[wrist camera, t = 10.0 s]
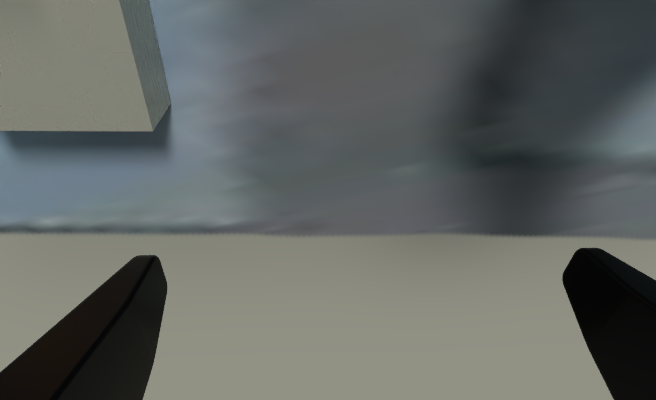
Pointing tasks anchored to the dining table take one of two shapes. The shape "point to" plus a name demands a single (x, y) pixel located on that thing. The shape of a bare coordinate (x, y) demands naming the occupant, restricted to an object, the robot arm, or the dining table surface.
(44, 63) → the rail
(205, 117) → the dining table surface
